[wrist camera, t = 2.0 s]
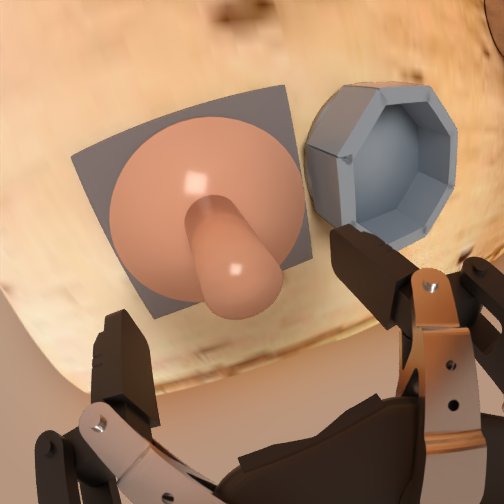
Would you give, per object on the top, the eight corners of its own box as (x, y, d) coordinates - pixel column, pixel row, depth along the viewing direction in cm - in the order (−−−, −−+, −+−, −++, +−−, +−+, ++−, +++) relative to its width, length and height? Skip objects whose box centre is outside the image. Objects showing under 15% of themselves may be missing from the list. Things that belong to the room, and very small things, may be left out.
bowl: (415, 79, 16) (456, 86, 13) (417, 203, 22) (449, 223, 19) (289, 91, 15) (327, 93, 11) (314, 246, 21) (343, 276, 18)
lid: (278, 94, 14) (362, 102, 8) (305, 255, 20) (364, 322, 14) (81, 161, 12) (31, 214, 7) (157, 312, 19) (169, 402, 13)
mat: (280, 85, 14) (284, 84, 14) (308, 254, 21) (312, 258, 21) (73, 154, 13) (70, 157, 12) (153, 313, 19) (154, 319, 19)
